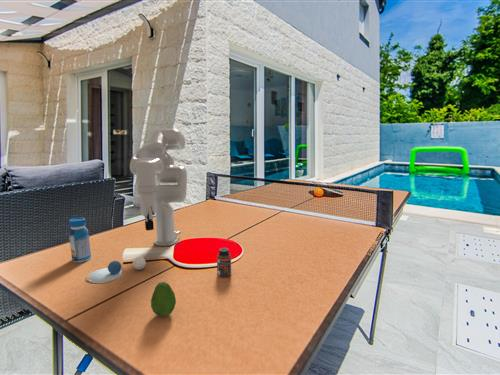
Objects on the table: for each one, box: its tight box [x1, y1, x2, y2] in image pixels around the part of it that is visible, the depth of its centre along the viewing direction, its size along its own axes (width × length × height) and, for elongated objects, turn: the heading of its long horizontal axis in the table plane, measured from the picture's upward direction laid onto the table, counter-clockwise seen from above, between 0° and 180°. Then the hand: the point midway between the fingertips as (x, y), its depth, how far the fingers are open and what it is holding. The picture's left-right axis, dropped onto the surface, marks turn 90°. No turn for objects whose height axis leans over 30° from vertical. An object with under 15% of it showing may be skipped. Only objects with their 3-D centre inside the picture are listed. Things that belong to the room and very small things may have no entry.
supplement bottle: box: [216, 247, 232, 278], centre depth 135 cm, size 6×6×11 cm
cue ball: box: [132, 256, 147, 271], centre depth 142 cm, size 6×6×6 cm
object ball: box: [107, 260, 123, 274], centre depth 138 cm, size 6×6×6 cm
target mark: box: [85, 267, 123, 284], centre depth 137 cm, size 14×14×1 cm
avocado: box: [150, 281, 177, 318], centre depth 107 cm, size 8×8×12 cm
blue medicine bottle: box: [68, 216, 92, 263], centre depth 151 cm, size 8×8×20 cm
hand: (149, 229), depth 142 cm, fingers closed
